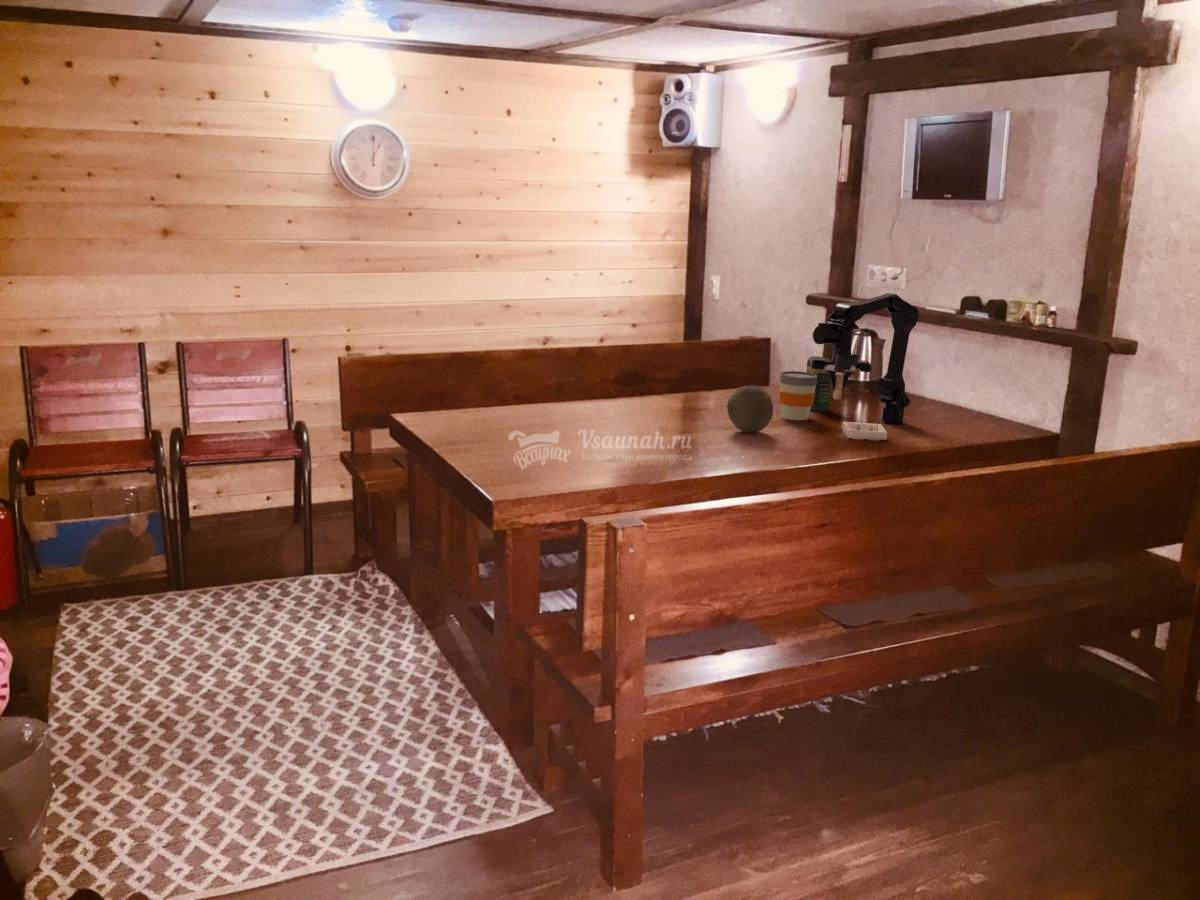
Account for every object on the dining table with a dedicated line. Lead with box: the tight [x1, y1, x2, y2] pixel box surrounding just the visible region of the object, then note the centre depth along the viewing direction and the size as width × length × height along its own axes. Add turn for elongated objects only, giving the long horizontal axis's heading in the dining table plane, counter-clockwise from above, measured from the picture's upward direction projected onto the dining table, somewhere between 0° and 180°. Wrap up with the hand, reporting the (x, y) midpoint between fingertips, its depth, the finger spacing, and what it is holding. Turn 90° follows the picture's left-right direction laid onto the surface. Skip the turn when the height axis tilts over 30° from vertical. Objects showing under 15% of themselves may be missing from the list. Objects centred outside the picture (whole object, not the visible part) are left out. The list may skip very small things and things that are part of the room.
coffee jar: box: [806, 356, 832, 412], centre depth 349 cm, size 10×8×19 cm
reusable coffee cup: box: [778, 370, 817, 421], centre depth 334 cm, size 13×13×15 cm
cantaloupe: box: [726, 385, 774, 434], centre depth 310 cm, size 14×14×15 cm
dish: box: [841, 421, 888, 441], centre depth 315 cm, size 12×12×3 cm
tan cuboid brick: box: [832, 372, 844, 401], centre depth 321 cm, size 2×4×8 cm, turn 174°
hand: (837, 391), depth 321 cm, fingers closed on tan cuboid brick, 2 cm apart
